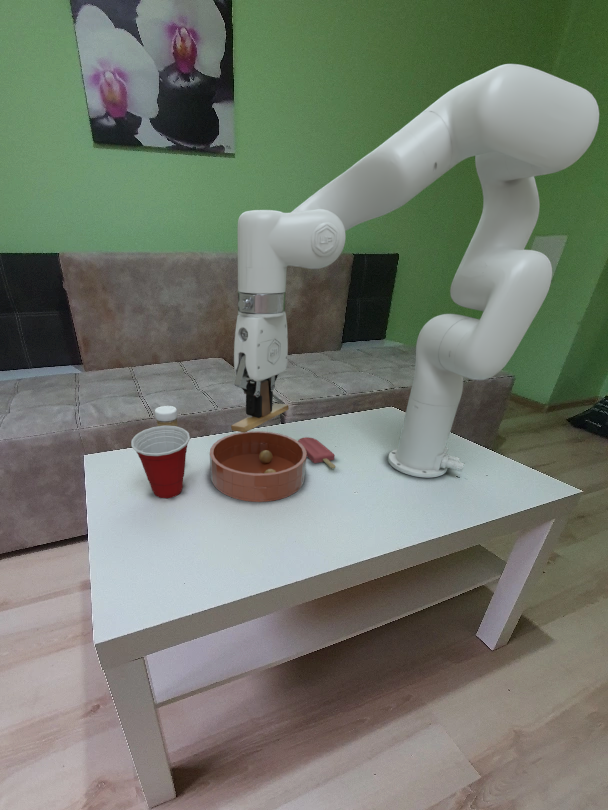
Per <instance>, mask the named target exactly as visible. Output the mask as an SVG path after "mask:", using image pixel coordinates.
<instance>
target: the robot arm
mask: <svg viewBox="0 0 608 810" xmlns="http://www.w3.org/2000/svg"><path fill="white" fill-rule="evenodd" d="M599 122H600V109H599V105H598V102H597V100H596V98H595V97H594V95H593V93H591V92H590V91H589V90H587V89H586V88H583V87H582V86H580V85H577V84H575V83H572V82H570V81H567V80H564V79H563V78H560V77H558V76H555V75H553V74H551V73H548V72H545V71H544V70H541V69H538V68H534V67H531V66H528V65H526V64H525V65H524V64H518V63H505V64H501V65H498V66H496V67H494V68H492V69H489V70H487V71H485V72H484V73H481V74H479V75H477V76H475V77H473V78H470V79H469V80H466V81H464V82H463V83H460V84H459V85H457V86H455V87H454V88H451V89H450V90H449V91H447V92H446V93H444V94H443V95H442V96H440V97H439V98H438V99H437V100H436V101H434V102H433V103H431V104H430V105H429V106H428V107H427V108H425V109H424V110H423V111H421V112H420V113H419V114H418V115H416V116H415V117H414V118H413V119H412V120H410V121H409V122H408V123H407V124H405V125H404V126H403V127H402V128H400V129H399V130H398V131H397V132H395V133H394V134H393V135H391V136H390V137H388V139H386V140H385V141H383V143H381V144H380V145H379V146H377V147H376V148H375V149H373V150H372V151H370V152H369V153H367V154H366V155H365V156H363V157H362V158H361V159H359V160H358V161H356V162H355V163H354V164H353V165H352V166H350V167H349V168H348V169H346V170H345V171H344V172H342V173H341V174H340V175H338V176H337V177H335V178H334V179H333V180H331V181H330V182H328V183H327V184H325V185H324V186H323V187H321V188H320V189H319V190H317V191H316V192H315V193H313V194H312V195H310V196H309V197H308V198H307V199H306V200H304V201H303V202H302V203H300V204H299V205H298V206H297V207H295V208H294V209H293V210H292V211H290V212H283V211H280V210H274V209H273V210H272V209H254V210H246V211H244V212H242V213H241V214H240V215H239V217H238V220H237V229H236V230H237V231H236V232H237V233H236V234H237V316H236V322H235V332H234V343H233V368H234V369H233V370H234V375H235V379H234V382H233V383H234V386H235V387H237V388H240V389H242V391H243V394H244V395H245V414H246V415H247V416H253V417H257V418H260V417H261V416H262V396H260V386H261V381H262V380H267V381H268V386H269V400H270V412H272V405H273V399H274V398H273V397H274V392H273V391H274V390H275V388H276V382H277V379H278V377H279V375H280V374H282V373H283V372H285V371H286V370H287V368H288V360H289V359H288V358H289V357H288V355H289V353H288V351H289V337H288V335H289V333H288V319H287V313H286V311H285V310H286V309H285V308H286V291H287V289H286V288H287V270H288V267H296V268H297V267H298V268H303V269H309V270H319V269H324V268H326V267H329V266H330V265H332V264H333V263H334V262H335V261H337V260H338V259H339V258H340V256H341V255H342V252H343V250H344V247H345V244H346V238H347V237H346V236H347V235H346V232H347V231H349V230H350V229H352V228H354V227H356V226H358V225H361V224H363V223H366V222H369V221H370V220H374V219H377V218H379V217H383V216H385V215H388V214H390V213H391V212H394V211H395V210H398V209H400V208H401V207H403V206H405V205H406V204H407V203H409V202H410V201H411V200H412V199H414V198H415V197H416V196H417V195H419V194H420V193H422V191H424V190H425V189H427V188H428V187H430V185H432V184H433V183H434V182H435V181H437V180H438V179H439V178H441V177H442V176H443V175H445V174H446V173H447V172H448V171H450V170H451V169H452V168H454V167H455V166H457V165H458V164H460V163H461V162H462V161H464V160H466V159H468V158H472V157H474V158H475V159H474V162H475V170H476V173H477V176H478V180H479V183H480V186H481V191H482V199H483V202H482V203H483V205H482V213H481V215H480V219H479V222H478V224H477V226H476V228H475V231H474V233H473V235H472V237H471V239H470V242H469V244H468V247H467V248H466V250H465V252H464V253H463V254H464V255H463V257H462V258H461V260H460V263H459V265H458V268H457V270H456V272H455V274H454V277H453V279H452V281H451V285H450V288H449V289H450V290H449V294H450V298H451V300H452V301H453V303H455V304H456V305H458V306H460V307H462V308H465V309H470V310H476V311H480V312H482V314H481V316H480V318H476V317H471V316H467V315H462V314H457V313H442V314H439V315H436V316H434V317H432V318H431V319H429V320H427V322H426V323H425V324H424V325H423V326H422V328H421V329H420V331H419V334H418V336H417V339H416V343H415V364H414V373H413V379H412V385H411V388H410V393H409V397H408V401H407V406H406V409H405V414H404V417H403V423H402V428H401V431H400V437H399V441H398V444H397V448H395V449H392V450H391V451H390V452H389V453H388V456H387V462H388V464H389V465H390V466H391V467H392V468H394V469H395V470H397V471H398V472H400V473H402V474H406V475H408V476H412V477H417V478H423V479H424V478H430V479H431V478H438V477H441V476H443V475H445V474H446V473H447V471H448V469H451V470H454V471H457V472H463V470H464V467H465V464H466V462H462V461H461V457H457V456H452V455H450V453H448V451H449V447H447V444H448V441H449V437H450V434H451V430H452V427H453V424H454V422H455V417H456V415H457V411H458V409H459V408H458V407H459V405H460V402H461V398H462V394H463V390H464V378H466V379H469V380H473V381H485V380H488V379H491V378H493V377H494V376H497V374H498V373H500V372H501V371H502V370H503V369H504V368H505V367H506V366H507V364H508V363H509V361H510V360H511V359H512V357H513V355H514V354H515V352H516V350H517V349H518V347H519V345H520V343H521V341H522V340H523V338H524V337H525V335H526V333H527V331H528V330H529V328H530V326H531V325H532V323H533V321H534V319H535V318H536V316H537V314H538V312H539V311H540V309H541V307H542V305H543V303H544V301H545V299H546V297H547V295H548V293H549V290H550V287H551V283H552V278H553V268H552V263H551V261H550V259H549V257H548V256H547V255H545V253H543V252H542V251H541V252H540V251H537V250H534V249H525V248H526V246H527V244H528V242H529V240H530V238H531V236H532V234H533V231H534V230H535V227H536V225H537V222H538V219H539V215H540V207H541V206H540V196H539V191H538V190H539V189H538V186H537V183H536V179H535V177H539V176H545V175H549V174H554V173H558V172H561V171H564V170H565V169H567V168H569V167H571V166H572V165H574V164H575V163H576V162H577V161H578V160H580V158H581V157H582V156H583V155H584V154H585V153H586V152H587V150H588V149H589V148H590V147H591V145H592V142H593V141H594V139H595V137H596V134H597V132H598V127H599ZM250 382H254V386H253V384H252V383H250Z"/></svg>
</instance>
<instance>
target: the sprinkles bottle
mask: <svg viewBox="0 0 608 810" xmlns="http://www.w3.org/2000/svg"><path fill="white" fill-rule="evenodd" d="M154 418H155V420H156V425H157V426H176V427H179V426H178V409H177V407H175V406H172V405H162V406H158V407H156V408H154ZM157 426H156V427H157Z"/></svg>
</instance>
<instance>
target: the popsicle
mask: <svg viewBox="0 0 608 810" xmlns="http://www.w3.org/2000/svg"><path fill="white" fill-rule="evenodd" d="M297 441H298V442H300V443H301V444H302V445H303V446H304V447H305V449H306V452H307V456H306V458H307V459H309V460H310V461H311V462H312V463H313V464H319V463H325V464H326V465H327V466H328V467H329V468H330V469H336V465H335V464H334V463H333V462H331V461H334V460H335V454H334V453H333V451H332V450H330V449H329V448H328V447H326V446H325V445H324V444H323V443H321V442H320V441H319V440H317V439H316V438H314V437H309V436H308V437H307V436H306V437H305V436H304V437H301V438H299V439H298V440H297Z"/></svg>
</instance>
